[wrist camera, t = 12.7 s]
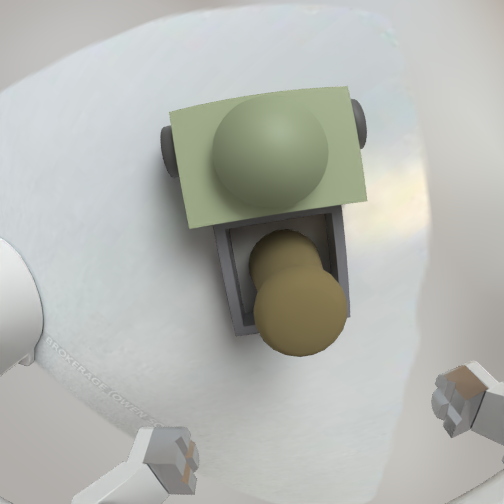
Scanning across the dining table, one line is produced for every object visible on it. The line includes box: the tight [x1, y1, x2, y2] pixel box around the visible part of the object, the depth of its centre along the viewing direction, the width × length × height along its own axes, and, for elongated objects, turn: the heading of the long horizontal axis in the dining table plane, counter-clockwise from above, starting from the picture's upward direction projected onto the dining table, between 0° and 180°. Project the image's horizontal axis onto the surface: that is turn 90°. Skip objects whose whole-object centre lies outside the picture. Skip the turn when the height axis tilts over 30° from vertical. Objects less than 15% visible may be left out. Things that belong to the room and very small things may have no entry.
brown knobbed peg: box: [249, 229, 347, 357], centre depth 20 cm, size 6×6×11 cm
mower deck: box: [161, 86, 367, 336], centre depth 21 cm, size 14×18×6 cm
